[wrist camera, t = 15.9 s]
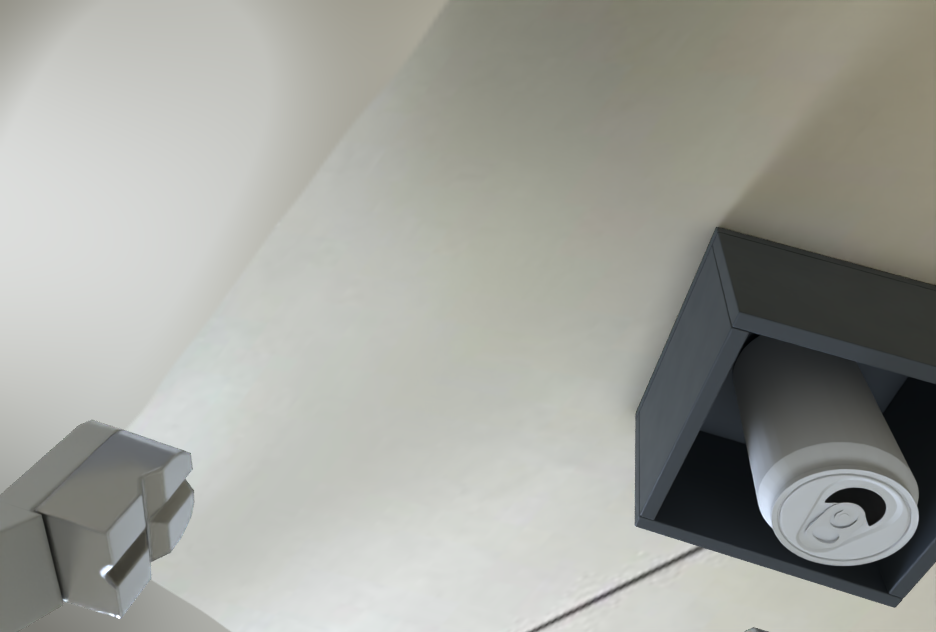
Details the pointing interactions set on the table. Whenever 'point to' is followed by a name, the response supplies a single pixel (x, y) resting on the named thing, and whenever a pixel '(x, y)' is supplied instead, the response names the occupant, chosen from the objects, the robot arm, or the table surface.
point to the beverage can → (822, 455)
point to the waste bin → (717, 413)
